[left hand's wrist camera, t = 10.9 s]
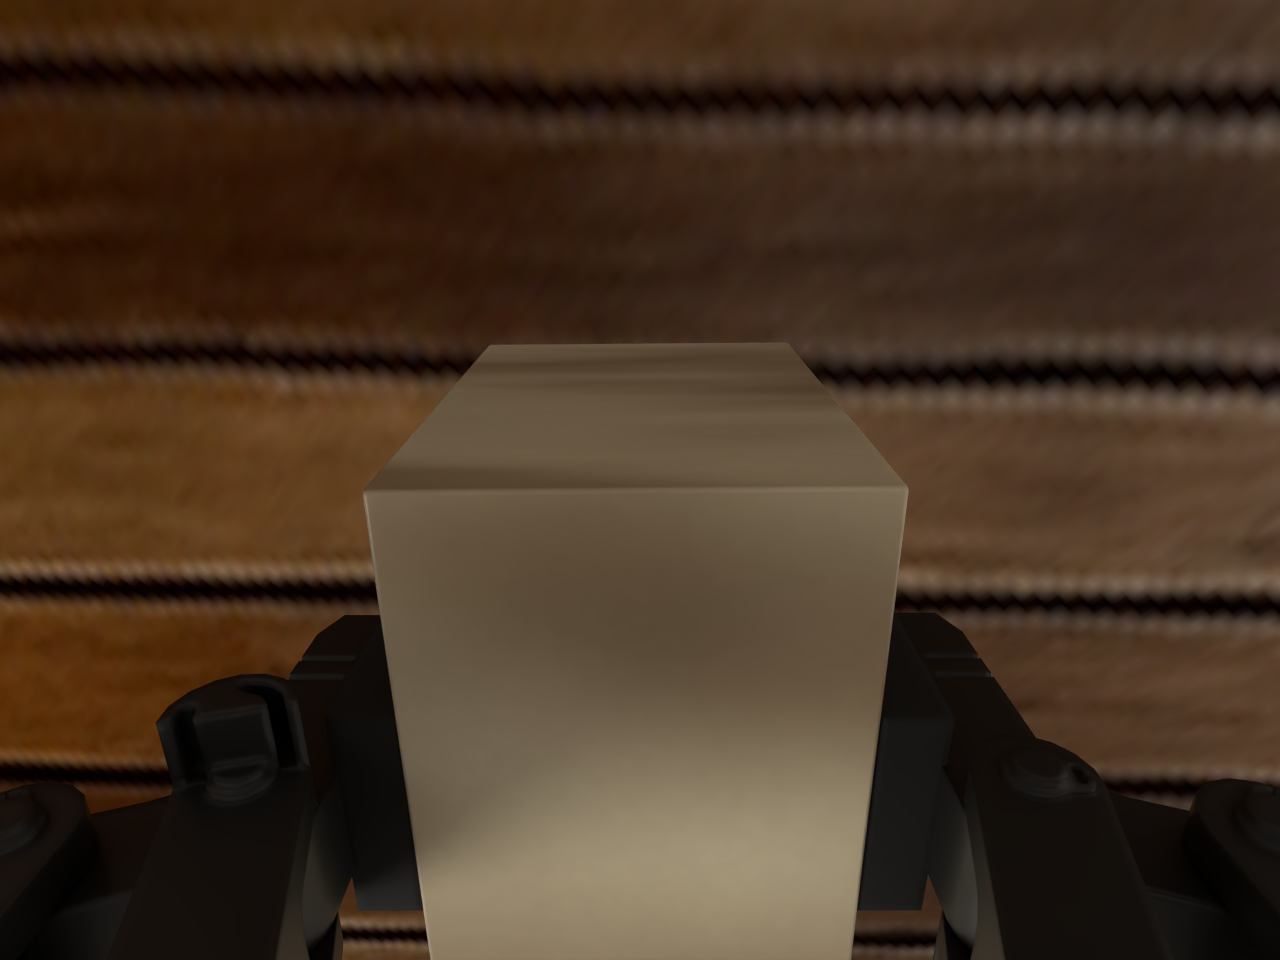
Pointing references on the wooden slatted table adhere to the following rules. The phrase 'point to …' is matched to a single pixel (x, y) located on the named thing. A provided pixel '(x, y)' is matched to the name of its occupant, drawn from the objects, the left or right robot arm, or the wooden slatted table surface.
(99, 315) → the wooden slatted table surface
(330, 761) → the left robot arm
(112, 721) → the wooden slatted table surface
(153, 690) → the wooden slatted table surface
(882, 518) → the birch plank
